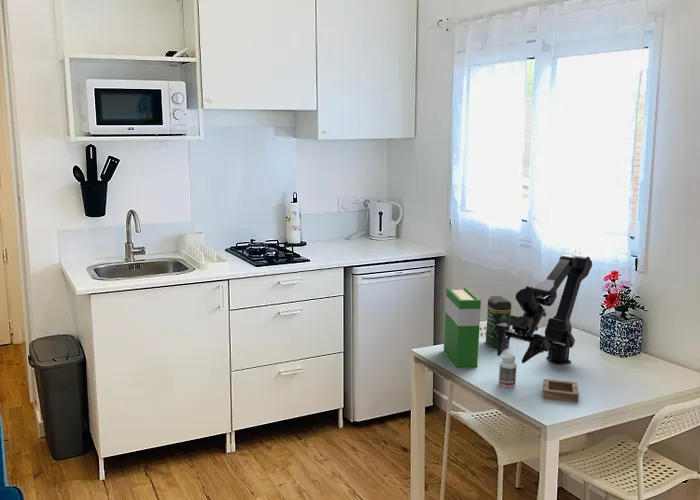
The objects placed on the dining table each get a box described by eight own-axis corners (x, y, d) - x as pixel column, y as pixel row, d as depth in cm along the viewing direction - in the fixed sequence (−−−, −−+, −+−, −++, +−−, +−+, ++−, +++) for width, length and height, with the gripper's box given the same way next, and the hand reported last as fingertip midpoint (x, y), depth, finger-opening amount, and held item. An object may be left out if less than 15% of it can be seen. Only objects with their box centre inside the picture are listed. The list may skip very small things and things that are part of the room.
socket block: (542, 387, 234) (543, 378, 233) (576, 391, 231) (577, 382, 231) (542, 399, 224) (543, 390, 223) (577, 403, 221) (578, 394, 221)
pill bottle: (518, 387, 233) (520, 358, 231) (502, 388, 231) (504, 359, 230) (510, 381, 238) (512, 352, 236) (495, 382, 237) (497, 353, 235)
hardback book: (443, 350, 266) (446, 287, 262) (463, 350, 267) (466, 287, 263) (456, 367, 249) (459, 300, 244) (477, 367, 250) (480, 300, 245)
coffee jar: (482, 341, 278) (485, 294, 275) (502, 340, 280) (504, 293, 276) (491, 349, 269) (494, 301, 265) (512, 348, 270) (515, 300, 267)
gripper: (497, 300, 241) (476, 338, 235) (548, 312, 228) (527, 353, 222) (509, 318, 248) (489, 356, 242) (558, 331, 235) (538, 371, 229)
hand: (510, 358), depth 234 cm, fingers open, 9 cm apart
